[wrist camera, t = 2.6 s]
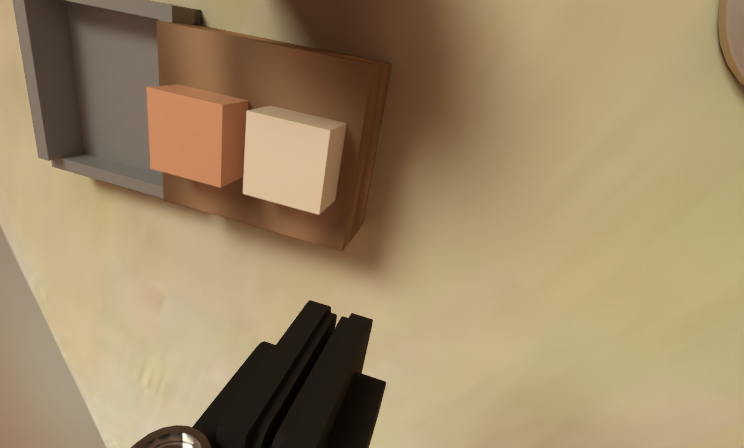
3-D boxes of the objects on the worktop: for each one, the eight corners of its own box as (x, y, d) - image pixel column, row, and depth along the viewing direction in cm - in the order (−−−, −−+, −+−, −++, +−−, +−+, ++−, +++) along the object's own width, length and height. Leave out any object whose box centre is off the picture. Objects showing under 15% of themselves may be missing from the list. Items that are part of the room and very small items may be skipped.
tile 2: (346, 123, 24) (330, 130, 22) (335, 200, 26) (319, 214, 24) (270, 105, 25) (246, 110, 23) (265, 181, 27) (242, 193, 25)
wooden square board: (391, 64, 27) (372, 64, 23) (362, 224, 32) (341, 251, 28) (206, 26, 30) (156, 20, 25) (205, 182, 35) (163, 199, 30)
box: (200, 10, 29) (160, 3, 26) (200, 191, 35) (167, 206, 31) (63, -17, 31) (8, -27, 28) (83, 158, 37) (40, 169, 33)
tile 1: (248, 100, 26) (222, 104, 23) (245, 176, 28) (220, 187, 25) (179, 84, 26) (146, 86, 24) (180, 158, 28) (150, 168, 26)
